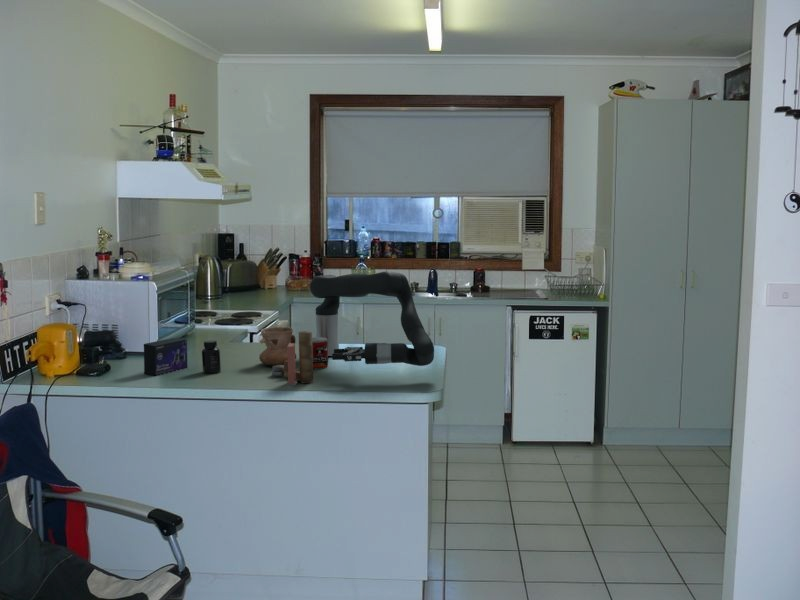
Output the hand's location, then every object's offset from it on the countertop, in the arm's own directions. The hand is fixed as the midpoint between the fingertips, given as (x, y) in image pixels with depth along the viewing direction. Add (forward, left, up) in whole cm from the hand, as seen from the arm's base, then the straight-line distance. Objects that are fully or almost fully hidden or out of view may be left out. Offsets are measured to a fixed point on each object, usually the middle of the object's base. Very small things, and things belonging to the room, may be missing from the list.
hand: (333, 354), depth 319 cm
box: (-23, -66, -11) cm, 71 cm away
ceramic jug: (-33, -24, -10) cm, 42 cm away
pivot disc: (-12, -21, -10) cm, 26 cm away
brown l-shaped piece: (-7, -15, -10) cm, 20 cm away
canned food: (-27, -8, -10) cm, 30 cm away
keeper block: (+1, -15, -10) cm, 18 cm away
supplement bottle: (-20, -48, -10) cm, 53 cm away
